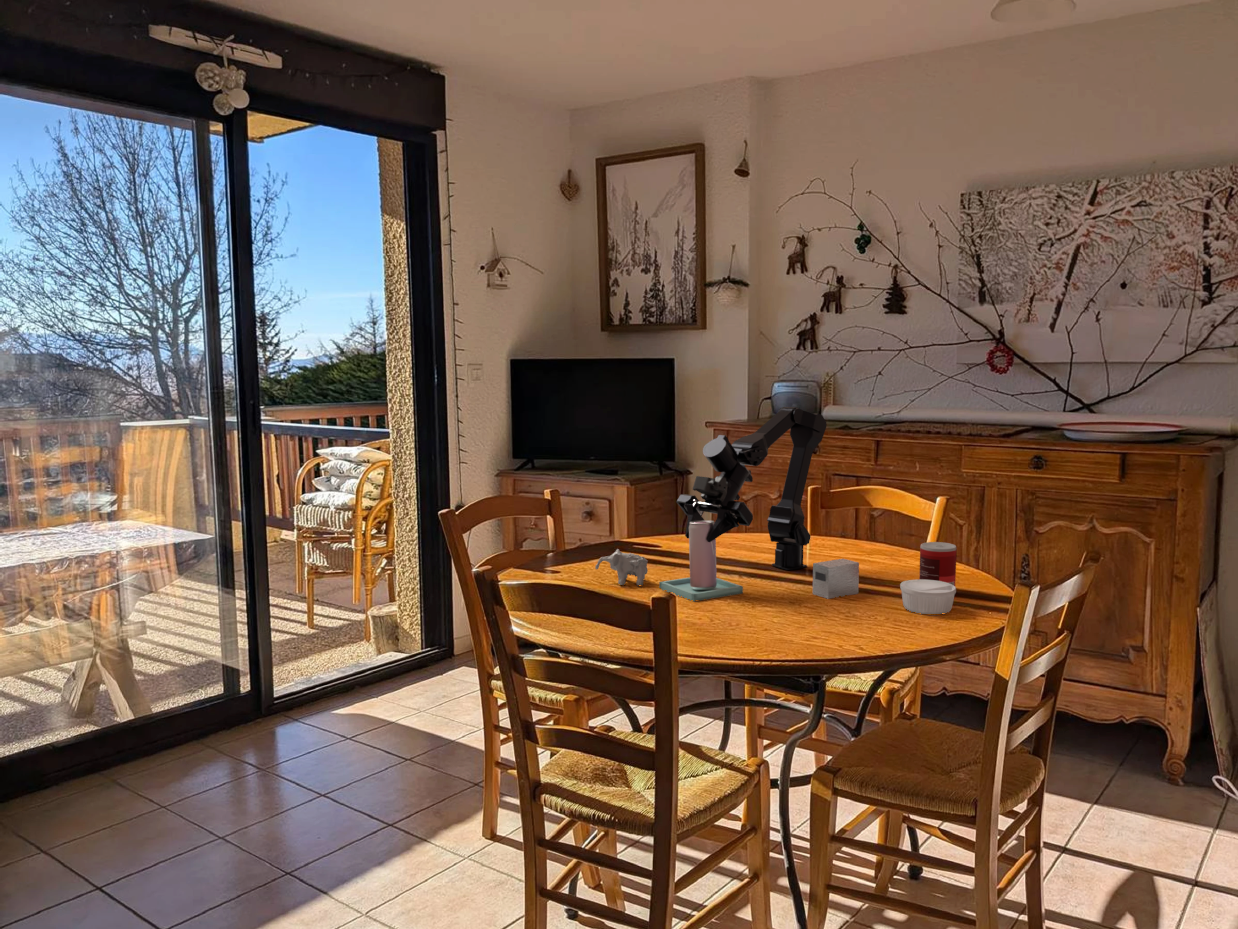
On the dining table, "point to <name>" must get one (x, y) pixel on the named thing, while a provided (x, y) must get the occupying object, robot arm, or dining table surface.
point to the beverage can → (702, 556)
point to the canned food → (938, 562)
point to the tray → (685, 590)
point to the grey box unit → (835, 578)
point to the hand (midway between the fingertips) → (697, 539)
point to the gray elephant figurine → (626, 566)
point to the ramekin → (927, 596)
